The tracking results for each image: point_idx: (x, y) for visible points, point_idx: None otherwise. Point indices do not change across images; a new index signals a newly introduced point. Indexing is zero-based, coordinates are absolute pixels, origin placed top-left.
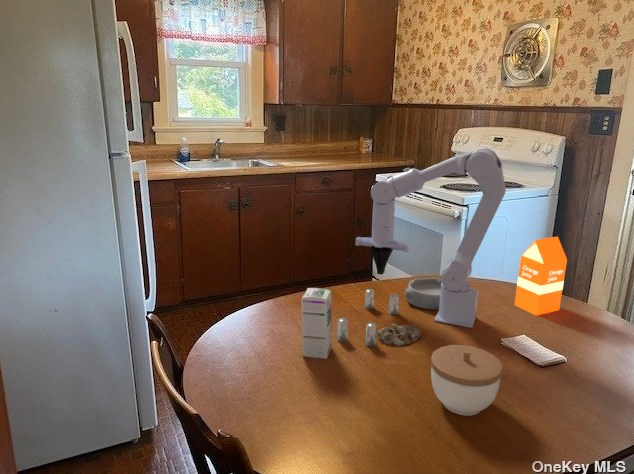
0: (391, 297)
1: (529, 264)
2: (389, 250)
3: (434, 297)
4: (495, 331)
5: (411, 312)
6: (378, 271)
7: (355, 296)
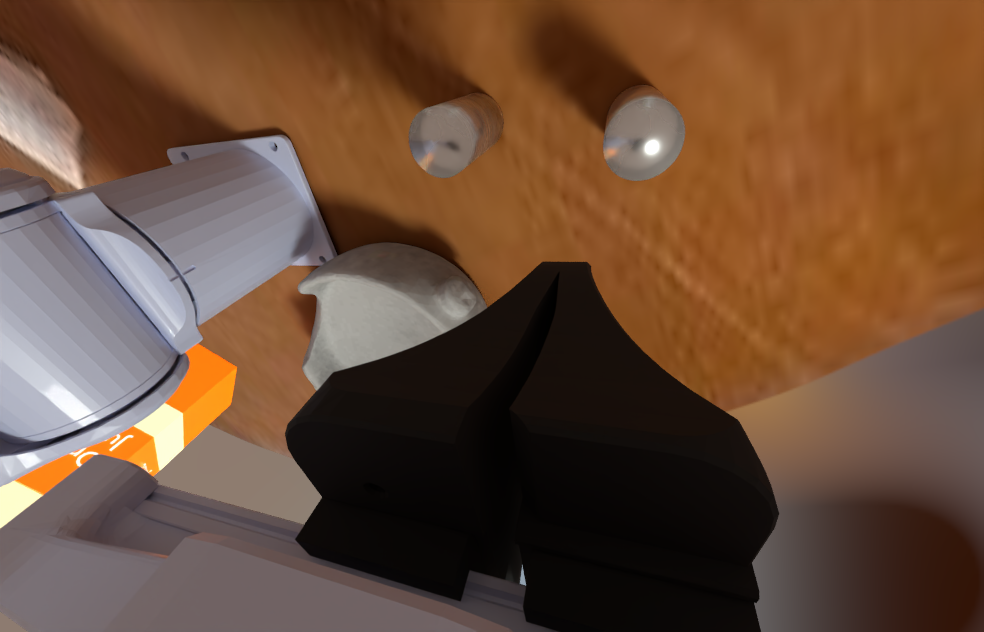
0: (444, 106)
1: (52, 466)
2: (335, 499)
3: (315, 270)
4: (127, 169)
5: (411, 180)
6: (574, 270)
7: (764, 242)
